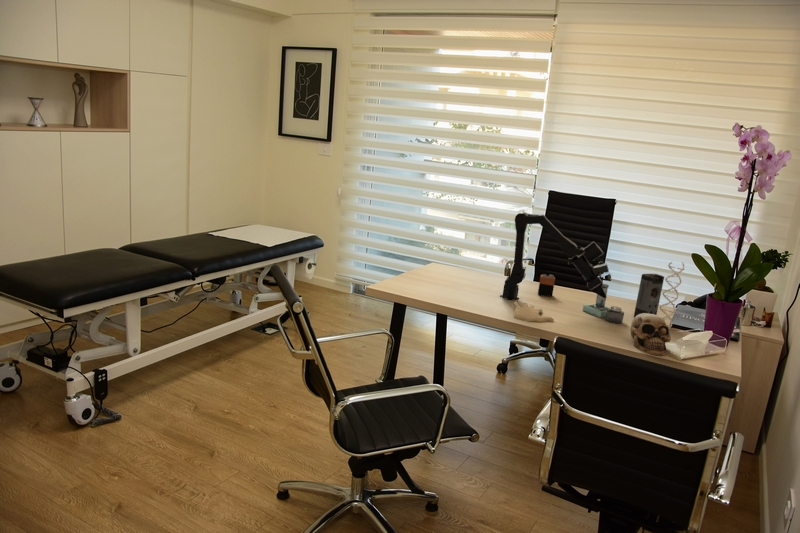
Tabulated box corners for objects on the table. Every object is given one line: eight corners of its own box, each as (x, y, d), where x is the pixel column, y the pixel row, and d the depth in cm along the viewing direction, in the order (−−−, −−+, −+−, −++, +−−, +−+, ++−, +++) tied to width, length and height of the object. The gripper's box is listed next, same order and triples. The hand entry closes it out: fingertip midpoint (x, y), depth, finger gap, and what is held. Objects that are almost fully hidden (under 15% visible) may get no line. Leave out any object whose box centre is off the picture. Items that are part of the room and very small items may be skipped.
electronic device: (642, 321, 267) (651, 277, 263) (631, 317, 272) (640, 273, 268) (657, 320, 272) (666, 276, 267) (646, 316, 277) (655, 273, 272)
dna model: (662, 335, 249) (677, 263, 243) (650, 330, 255) (665, 260, 248) (674, 335, 252) (689, 264, 246) (662, 329, 258) (677, 260, 251)
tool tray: (600, 317, 266) (601, 311, 266) (582, 310, 274) (583, 305, 274) (615, 315, 272) (616, 310, 271) (597, 309, 280) (598, 303, 279)
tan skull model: (657, 356, 222) (662, 320, 221) (616, 345, 236) (619, 311, 235) (680, 352, 232) (685, 317, 230) (639, 342, 245) (643, 309, 244)
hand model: (504, 310, 253) (518, 295, 270) (502, 320, 255) (517, 304, 272) (549, 323, 246) (561, 306, 262) (547, 333, 247) (559, 316, 264)
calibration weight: (615, 324, 258) (617, 310, 257) (601, 319, 264) (604, 306, 262) (625, 323, 262) (628, 309, 261) (612, 318, 268) (614, 304, 266)
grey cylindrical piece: (601, 314, 269) (606, 286, 267) (590, 311, 273) (595, 283, 270) (607, 312, 273) (611, 285, 270) (596, 309, 276) (601, 282, 274)
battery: (552, 297, 293) (555, 276, 291) (537, 294, 294) (540, 274, 292) (552, 295, 297) (555, 275, 295) (538, 292, 298) (541, 272, 296)
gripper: (600, 260, 260) (622, 289, 259) (599, 253, 277) (620, 280, 277) (577, 275, 263) (600, 304, 263) (578, 267, 281) (598, 294, 281)
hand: (605, 295), depth 271 cm, fingers open, 9 cm apart
